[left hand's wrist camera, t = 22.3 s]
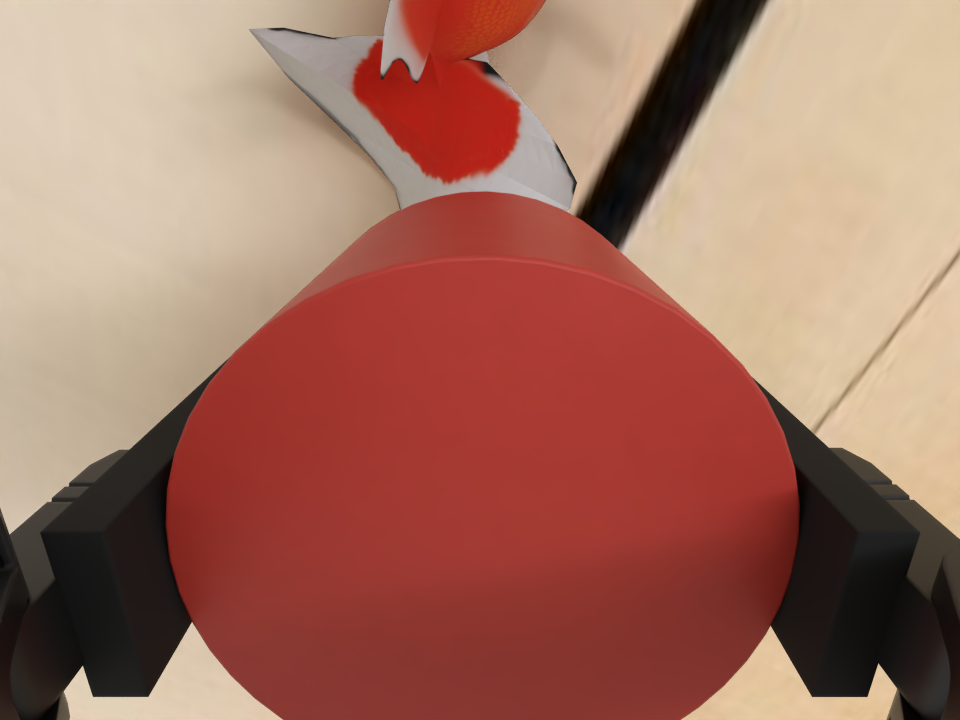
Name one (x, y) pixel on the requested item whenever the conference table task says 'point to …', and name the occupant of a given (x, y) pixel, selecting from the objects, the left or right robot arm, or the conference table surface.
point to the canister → (482, 484)
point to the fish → (431, 99)
